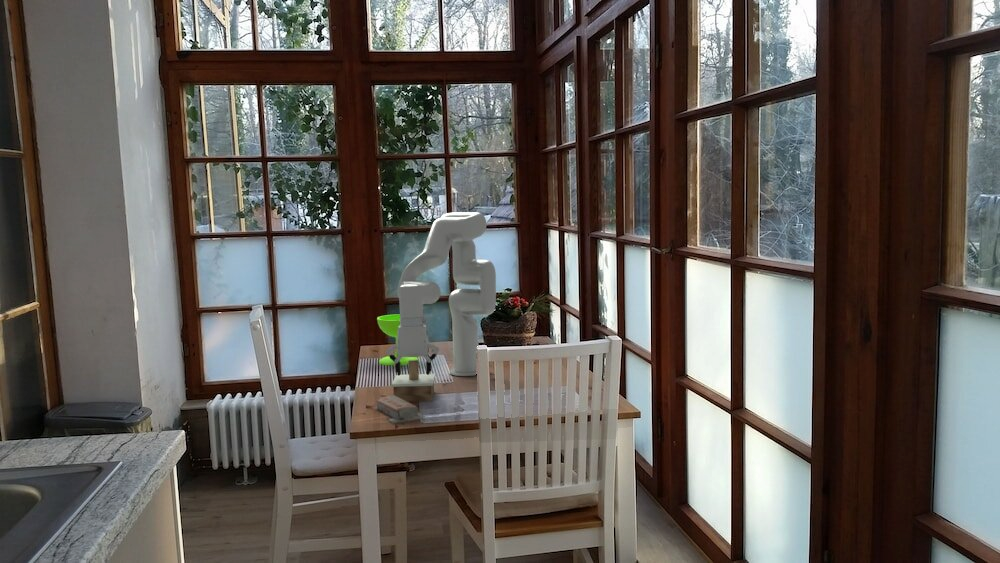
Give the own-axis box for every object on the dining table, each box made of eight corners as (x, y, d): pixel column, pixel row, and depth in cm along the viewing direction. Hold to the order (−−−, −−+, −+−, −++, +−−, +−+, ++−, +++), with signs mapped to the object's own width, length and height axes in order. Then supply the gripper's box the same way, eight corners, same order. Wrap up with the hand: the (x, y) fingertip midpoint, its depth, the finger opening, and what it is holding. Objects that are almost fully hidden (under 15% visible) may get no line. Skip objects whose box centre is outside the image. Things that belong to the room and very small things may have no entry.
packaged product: (423, 403, 229) (392, 409, 224) (424, 419, 230) (393, 425, 225) (398, 391, 245) (369, 396, 240) (399, 406, 245) (370, 411, 240)
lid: (435, 376, 258) (434, 356, 257) (432, 385, 245) (431, 364, 244) (396, 377, 257) (395, 357, 257) (391, 386, 244) (390, 365, 244)
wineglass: (424, 357, 317) (422, 314, 315) (409, 366, 301) (407, 320, 299) (388, 356, 321) (386, 313, 319) (372, 364, 306) (370, 320, 304)
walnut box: (434, 394, 258) (433, 376, 257) (431, 403, 246) (431, 385, 245) (398, 395, 258) (397, 377, 257) (394, 404, 246) (393, 386, 245)
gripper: (439, 319, 253) (441, 371, 255) (386, 320, 252) (388, 372, 254) (437, 323, 245) (439, 376, 247) (383, 324, 245) (385, 377, 247)
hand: (413, 374), depth 251 cm, fingers open, 9 cm apart
